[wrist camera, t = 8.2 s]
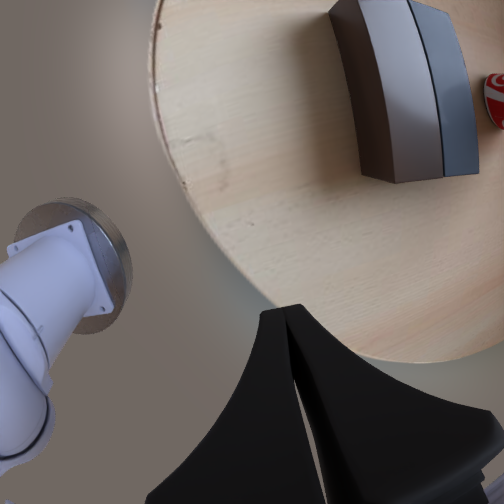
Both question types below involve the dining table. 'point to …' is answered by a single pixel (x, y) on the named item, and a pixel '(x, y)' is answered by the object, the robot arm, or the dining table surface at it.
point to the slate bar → (449, 90)
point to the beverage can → (495, 98)
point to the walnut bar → (389, 90)
